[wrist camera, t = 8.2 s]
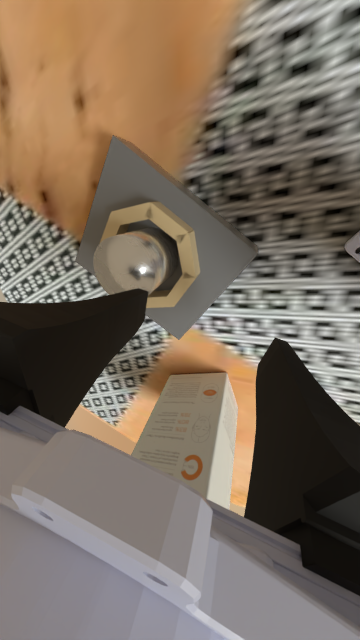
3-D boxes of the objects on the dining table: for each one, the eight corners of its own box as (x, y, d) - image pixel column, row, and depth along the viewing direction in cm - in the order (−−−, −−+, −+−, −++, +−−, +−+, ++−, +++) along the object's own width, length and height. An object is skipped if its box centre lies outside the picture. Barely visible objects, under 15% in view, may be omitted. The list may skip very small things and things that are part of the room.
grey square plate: (258, 246, 17) (258, 259, 14) (185, 327, 23) (174, 348, 20) (131, 142, 16) (99, 129, 13) (91, 255, 23) (63, 265, 19)
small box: (184, 405, 31) (145, 517, 20) (169, 373, 28) (115, 480, 18) (239, 407, 27) (227, 543, 17) (228, 371, 25) (205, 503, 14)
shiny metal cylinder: (186, 242, 16) (163, 256, 12) (167, 288, 19) (143, 313, 15) (137, 217, 16) (98, 223, 12) (125, 266, 19) (89, 285, 15)
